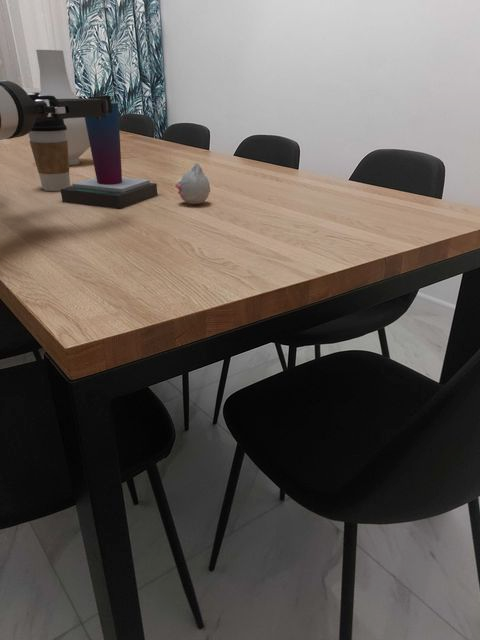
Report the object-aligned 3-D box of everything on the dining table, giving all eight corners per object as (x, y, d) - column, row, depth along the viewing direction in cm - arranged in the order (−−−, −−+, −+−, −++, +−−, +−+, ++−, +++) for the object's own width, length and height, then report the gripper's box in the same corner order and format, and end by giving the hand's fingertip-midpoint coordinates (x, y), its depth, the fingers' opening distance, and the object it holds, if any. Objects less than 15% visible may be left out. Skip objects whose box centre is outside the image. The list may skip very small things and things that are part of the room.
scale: (62, 201, 103) (59, 185, 101) (104, 189, 114) (102, 174, 113) (119, 208, 99) (117, 191, 97) (157, 195, 110) (156, 179, 108)
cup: (92, 179, 107) (81, 101, 99) (125, 178, 109) (116, 101, 101) (93, 186, 101) (81, 103, 94) (127, 184, 103) (119, 103, 96)
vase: (35, 160, 148) (14, 50, 134) (93, 158, 154) (78, 52, 140) (39, 169, 135) (16, 48, 121) (102, 166, 141) (86, 50, 127)
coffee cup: (33, 192, 110) (18, 117, 103) (41, 184, 117) (28, 114, 110) (72, 192, 111) (61, 117, 104) (79, 184, 118) (68, 114, 111)
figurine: (174, 201, 105) (171, 161, 101) (206, 199, 107) (205, 159, 103) (179, 208, 100) (177, 166, 96) (214, 206, 102) (212, 165, 98)
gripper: (-73, 135, 75) (14, 122, 93) (82, 144, 71) (141, 128, 89) (-90, 78, 71) (5, 76, 89) (73, 84, 67) (137, 80, 85)
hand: (73, 102), depth 89 cm, fingers open, 13 cm apart
